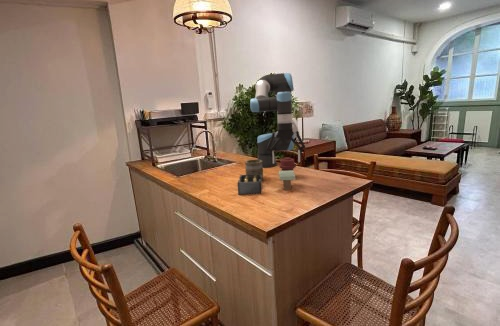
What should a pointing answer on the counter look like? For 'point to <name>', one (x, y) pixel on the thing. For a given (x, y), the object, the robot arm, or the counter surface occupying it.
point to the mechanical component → (287, 164)
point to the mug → (254, 167)
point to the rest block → (287, 184)
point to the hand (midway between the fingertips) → (286, 162)
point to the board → (287, 175)
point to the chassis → (249, 184)
